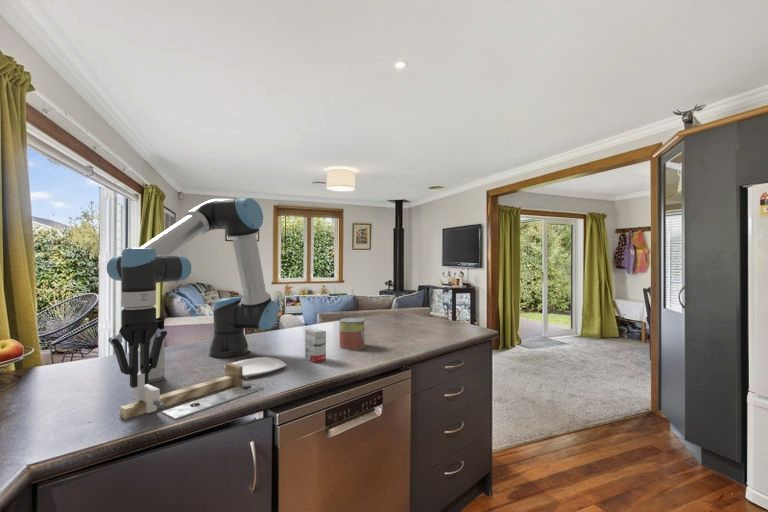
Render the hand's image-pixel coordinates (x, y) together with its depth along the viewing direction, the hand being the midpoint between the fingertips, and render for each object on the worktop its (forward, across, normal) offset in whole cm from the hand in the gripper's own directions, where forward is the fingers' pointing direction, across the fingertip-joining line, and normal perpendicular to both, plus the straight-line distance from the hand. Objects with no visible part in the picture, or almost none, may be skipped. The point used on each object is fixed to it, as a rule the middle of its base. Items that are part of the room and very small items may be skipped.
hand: (139, 398), depth 95 cm
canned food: (+4, +85, 0) cm, 85 cm away
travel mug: (+4, +14, +25) cm, 29 cm away
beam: (+4, +12, -3) cm, 13 cm away
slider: (+3, +2, -3) cm, 5 cm away
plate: (+4, +40, +6) cm, 40 cm away
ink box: (+4, +61, -2) cm, 61 cm away
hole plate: (+4, +16, -8) cm, 19 cm away
